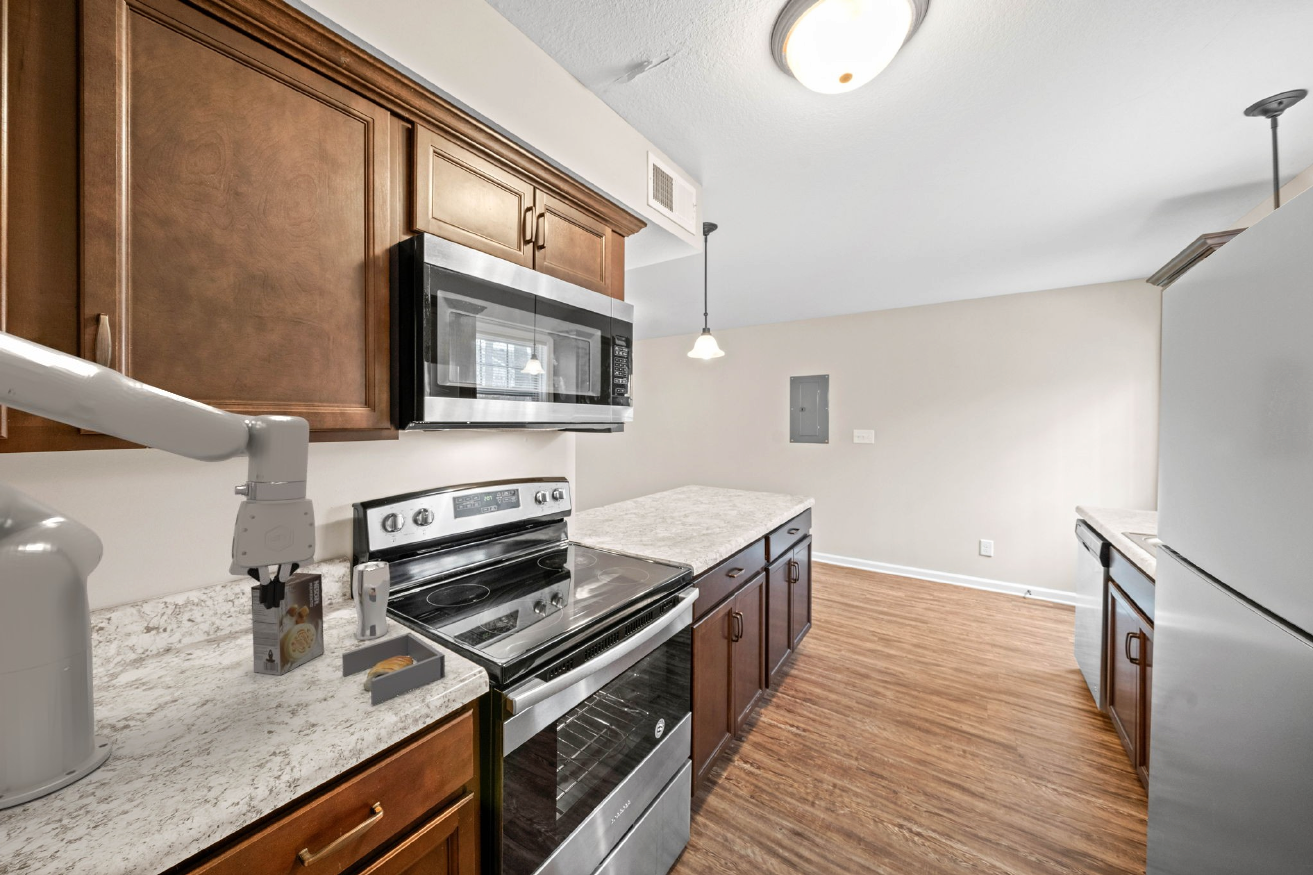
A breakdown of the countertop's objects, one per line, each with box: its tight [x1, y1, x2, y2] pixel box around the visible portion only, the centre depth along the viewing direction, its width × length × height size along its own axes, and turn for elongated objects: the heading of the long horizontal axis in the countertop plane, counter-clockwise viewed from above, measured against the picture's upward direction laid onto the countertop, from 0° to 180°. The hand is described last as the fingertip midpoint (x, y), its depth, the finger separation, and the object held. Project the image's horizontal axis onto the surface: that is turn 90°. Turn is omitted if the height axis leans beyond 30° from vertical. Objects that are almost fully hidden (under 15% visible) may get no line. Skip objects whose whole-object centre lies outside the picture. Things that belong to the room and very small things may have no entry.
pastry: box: [363, 655, 414, 692], centre depth 87 cm, size 9×7×4 cm
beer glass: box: [352, 560, 391, 641], centre depth 105 cm, size 7×7×15 cm
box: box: [341, 632, 446, 706], centre depth 87 cm, size 12×15×4 cm
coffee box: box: [250, 572, 325, 676], centre depth 92 cm, size 9×6×16 cm
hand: (271, 606), depth 77 cm, fingers closed
